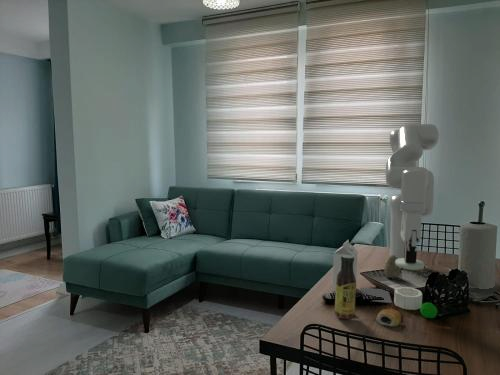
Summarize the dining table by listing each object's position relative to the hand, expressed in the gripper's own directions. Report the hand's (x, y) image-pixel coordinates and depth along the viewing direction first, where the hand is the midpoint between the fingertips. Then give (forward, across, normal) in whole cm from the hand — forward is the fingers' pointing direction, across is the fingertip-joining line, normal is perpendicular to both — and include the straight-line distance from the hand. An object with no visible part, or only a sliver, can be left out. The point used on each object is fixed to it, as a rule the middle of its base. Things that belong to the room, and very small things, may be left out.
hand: (409, 260), depth 136 cm
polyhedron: (+16, +8, +5) cm, 19 cm away
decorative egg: (+16, -25, -2) cm, 30 cm away
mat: (+16, -6, -10) cm, 20 cm away
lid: (+2, 0, 0) cm, 2 cm away
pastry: (+17, +13, -8) cm, 22 cm away
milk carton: (+16, -9, -21) cm, 28 cm away
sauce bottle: (+16, +12, -21) cm, 29 cm away
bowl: (+16, 0, 0) cm, 16 cm away
